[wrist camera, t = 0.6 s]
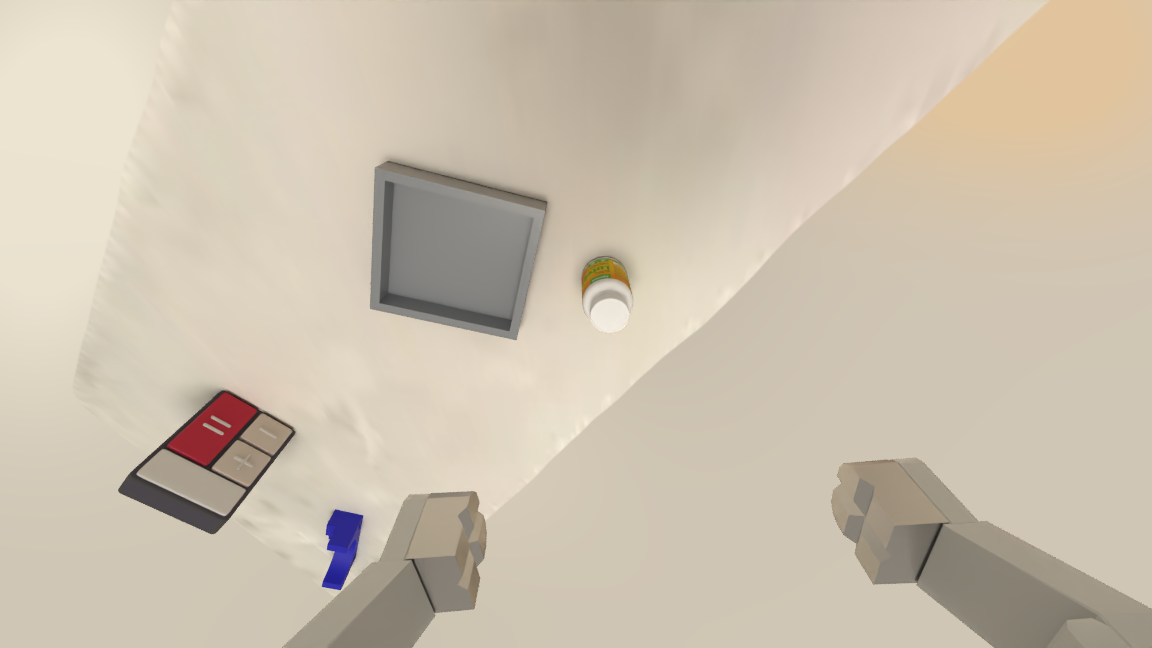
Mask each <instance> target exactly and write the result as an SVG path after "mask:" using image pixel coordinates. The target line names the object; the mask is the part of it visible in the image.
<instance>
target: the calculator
mask: <svg viewBox="0 0 1152 648" xmlns="http://www.w3.org/2000/svg"><path fill="white" fill-rule="evenodd" d="M294 434H295V432H294V431H293V430H292V429H290V428H288V427H286V426H285V425H283V424H281V423H279V422H278V421H276V420H274V419H272V418H271V417H269V416H267V415H265V414H263V413H262V412H260V411H258V410H256V409H255V408H253V407H251V406H249V405H248V404H246V403H244V402H242V401H241V400H239V399H237V398H235V397H234V396H232V395H230V394H228V393H227V392H224V391H221V392H219V393H218V394H217V395H216V396H215V397H214V398H213V399H212V400H210V401H209V402H208V403H207V404H206V405H205V406H204V407H203V408H202V409H200V410H199V411H198V412H197V413H196V414H195V415H194V416H193V417H192V418H190V419H189V420H188V421H187V422H186V423H185V424H184V425H183V426H182V427H180V428H179V429H178V430H177V431H176V432H175V433H174V434H173V435H172V436H171V437H169V438H168V439H167V440H166V441H165V442H164V443H163V444H162V445H161V446H159V447H158V448H157V449H156V450H155V451H154V452H153V453H152V454H151V455H149V456H148V457H147V458H146V459H145V460H144V461H143V462H142V463H141V464H139V465H138V466H137V467H136V468H135V469H134V470H133V471H132V472H131V473H130V474H129V475H128V476H127V478H126V479H125V481H124V482H123V483H122V485H121V486H120V488H119V490H118V491H119V493H121V494H123V495H125V496H128V497H130V498H132V499H134V500H137V501H139V502H141V503H143V504H145V505H148V506H150V507H152V508H154V509H156V510H159V511H161V512H163V513H165V514H167V515H170V516H172V517H174V518H176V519H179V520H181V521H183V522H186V523H188V524H190V525H192V526H195V527H197V528H199V529H201V530H203V531H205V532H208V533H210V534H215V533H216V532H217V531H218V530H219V529H220V528H221V527H222V526H223V525H224V524H225V523H226V522H227V521H228V520H229V518H230V517H231V516H232V515H233V513H234V512H235V511H236V509H237V508H238V507H239V506H240V504H241V503H242V502H243V500H244V499H245V498H246V496H247V495H248V494H249V493H250V491H251V490H252V489H253V487H254V486H255V485H256V484H257V482H258V481H259V480H260V478H261V477H262V476H263V474H264V473H265V472H266V471H267V469H268V468H269V467H270V465H271V464H272V463H273V462H274V460H275V459H276V458H277V456H278V455H279V454H280V452H281V451H282V450H283V449H284V447H285V446H286V445H287V443H288V442H289V441H290V440H291V438H292V437H293V436H294Z"/></svg>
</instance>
